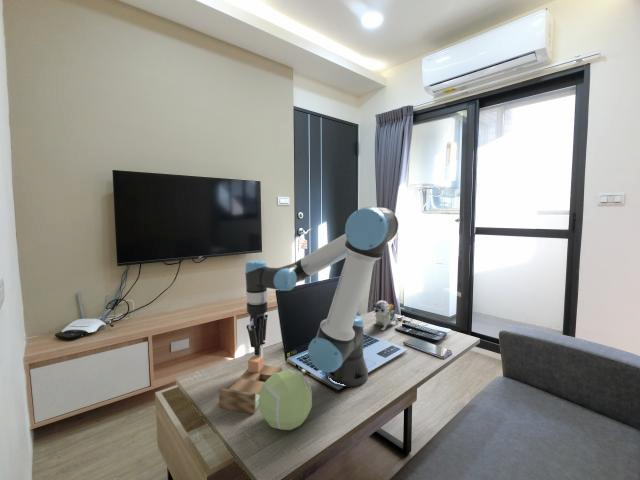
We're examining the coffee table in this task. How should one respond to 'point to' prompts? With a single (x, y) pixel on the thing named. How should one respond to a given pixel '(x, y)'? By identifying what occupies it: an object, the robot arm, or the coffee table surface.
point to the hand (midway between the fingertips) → (259, 361)
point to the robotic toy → (384, 313)
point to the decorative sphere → (285, 400)
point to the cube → (255, 363)
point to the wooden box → (246, 390)
